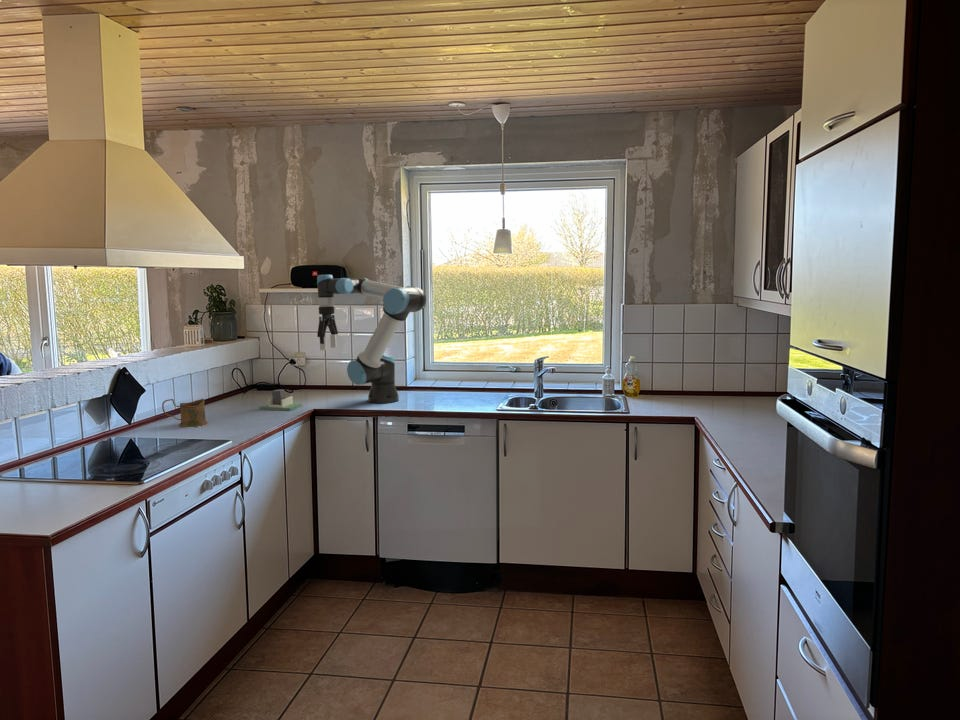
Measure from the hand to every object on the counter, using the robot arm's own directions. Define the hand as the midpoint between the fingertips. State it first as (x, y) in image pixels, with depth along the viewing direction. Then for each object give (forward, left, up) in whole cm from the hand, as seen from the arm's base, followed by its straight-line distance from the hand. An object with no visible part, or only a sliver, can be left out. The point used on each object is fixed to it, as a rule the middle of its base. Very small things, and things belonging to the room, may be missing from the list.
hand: (328, 349), depth 354 cm
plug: (+16, +22, -25) cm, 36 cm away
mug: (+36, +65, -26) cm, 79 cm away
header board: (+15, +22, -26) cm, 37 cm away
